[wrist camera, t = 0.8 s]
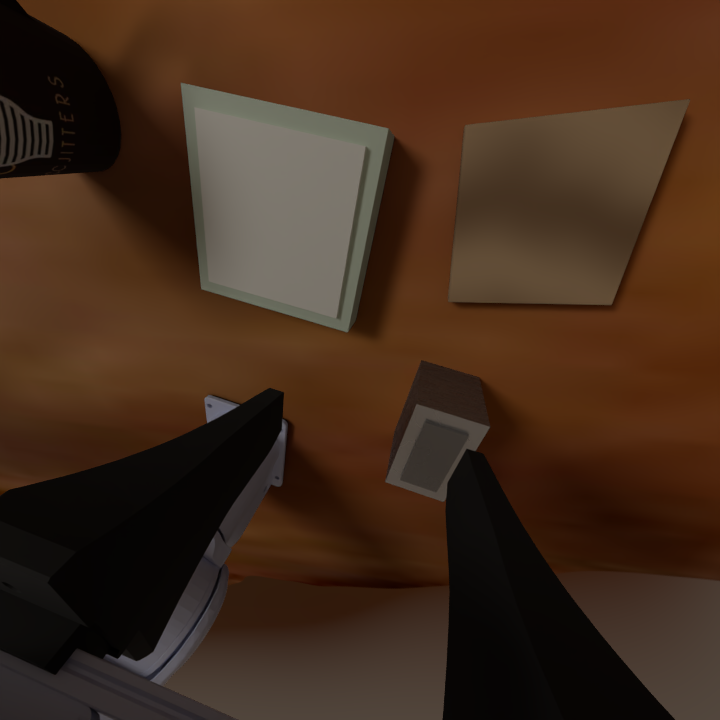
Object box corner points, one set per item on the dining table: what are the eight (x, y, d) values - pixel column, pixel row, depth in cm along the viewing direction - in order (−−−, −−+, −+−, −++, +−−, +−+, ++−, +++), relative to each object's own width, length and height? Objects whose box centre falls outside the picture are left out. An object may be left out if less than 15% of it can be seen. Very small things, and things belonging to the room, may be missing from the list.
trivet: (604, 300, 15) (611, 304, 15) (447, 297, 17) (448, 302, 17) (675, 104, 11) (690, 99, 11) (464, 128, 13) (465, 125, 13)
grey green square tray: (355, 320, 19) (346, 334, 17) (221, 281, 20) (198, 290, 18) (394, 136, 14) (387, 127, 12) (209, 95, 15) (176, 80, 13)
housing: (442, 445, 23) (443, 504, 19) (394, 430, 23) (384, 484, 19) (479, 376, 19) (490, 429, 15) (421, 359, 20) (416, 406, 15)
